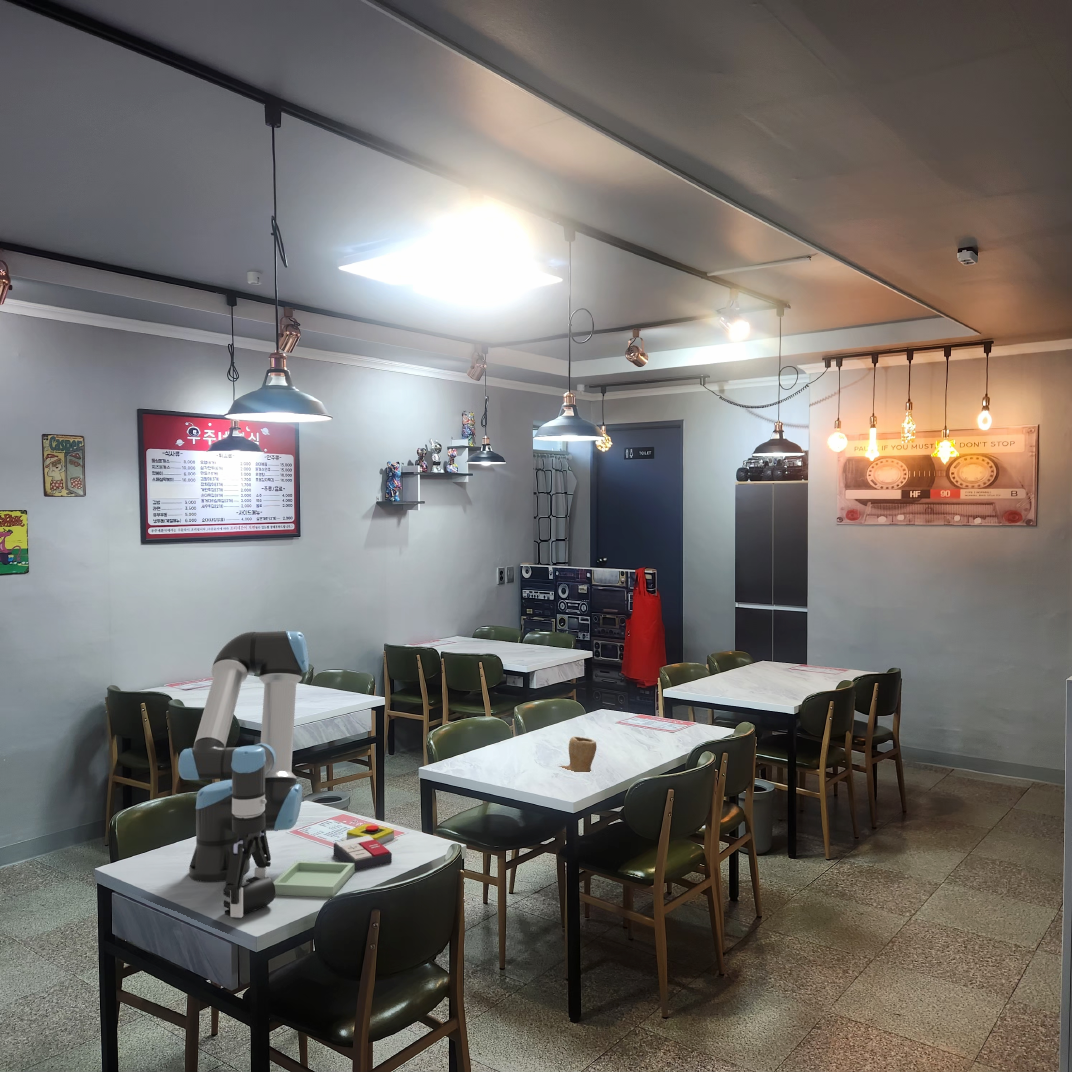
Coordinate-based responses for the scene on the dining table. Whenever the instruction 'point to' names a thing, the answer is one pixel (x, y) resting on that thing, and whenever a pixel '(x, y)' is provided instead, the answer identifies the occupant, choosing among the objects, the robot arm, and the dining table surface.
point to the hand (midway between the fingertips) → (248, 905)
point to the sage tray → (314, 878)
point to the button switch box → (362, 852)
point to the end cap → (254, 894)
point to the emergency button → (372, 834)
